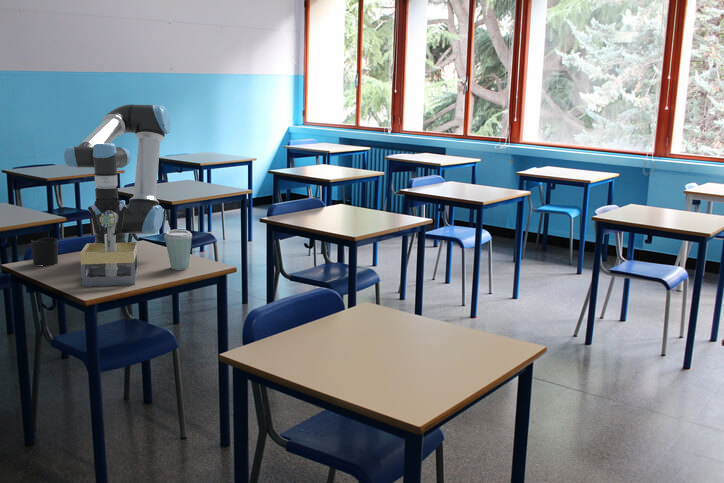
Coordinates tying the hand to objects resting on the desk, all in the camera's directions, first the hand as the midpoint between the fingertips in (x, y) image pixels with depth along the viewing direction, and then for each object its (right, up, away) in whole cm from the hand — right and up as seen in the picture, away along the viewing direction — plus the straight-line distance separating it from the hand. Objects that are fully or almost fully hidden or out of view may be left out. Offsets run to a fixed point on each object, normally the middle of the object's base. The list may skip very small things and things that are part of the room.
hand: (109, 252), depth 241 cm
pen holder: (-34, -5, +23) cm, 42 cm away
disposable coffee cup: (+20, -7, +20) cm, 29 cm away
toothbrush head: (-1, -10, +1) cm, 10 cm away
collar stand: (0, -10, +2) cm, 10 cm away
